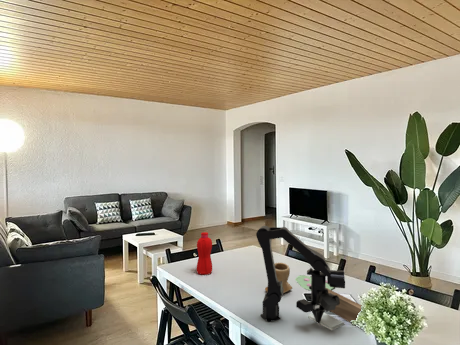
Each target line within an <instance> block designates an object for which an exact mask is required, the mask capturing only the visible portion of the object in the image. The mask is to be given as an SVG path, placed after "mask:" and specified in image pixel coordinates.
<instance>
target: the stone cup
mask: <svg viewBox="0 0 460 345" xmlns="http://www.w3.org/2000/svg"><path fill="white" fill-rule="evenodd" d="M274 264H275V270H276V275H277V279H278V281H279V282H280V281H282V287H283V289H284V291H283V294H285V293H286V292H289V291H291V290H292V289H293V286H292V285H290V283H289V282H288V280H289V278H290V272H291V271H290V269H291V268H290V267H289V265H288V264H286V263H285V262H274ZM264 290H265V292H266V293H267V292H268V286H266V287H265V289H264Z"/></svg>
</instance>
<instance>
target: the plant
mask: <svg viewBox="0 0 460 345" xmlns="http://www.w3.org/2000/svg"><path fill="white" fill-rule="evenodd" d="M294 280H295V281H296V282H297V284H298V285H299V286H300V287H301V288H303V289H304V290H308V291H310V292H311V289H309V286H311V276H310V275H309V276H308V275H304V274H303V275H298V276H297V277H296V278H295V279H294ZM326 288H328V289H330V290H333V289H334V288H335V287H330V286H329V284H327V280H326Z"/></svg>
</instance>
